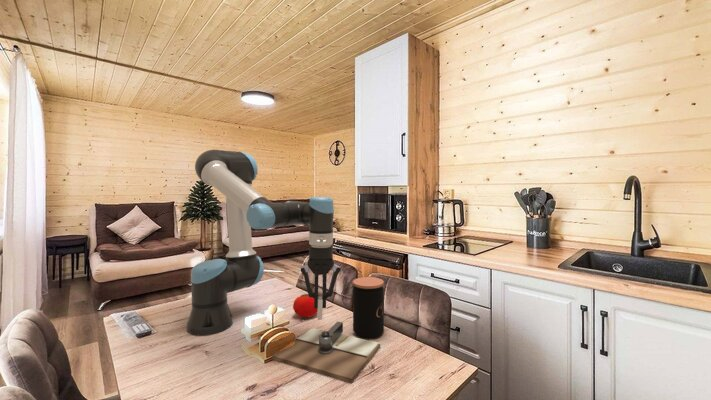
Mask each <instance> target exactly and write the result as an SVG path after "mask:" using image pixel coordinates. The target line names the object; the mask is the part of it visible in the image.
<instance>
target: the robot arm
mask: <svg viewBox="0 0 711 400" xmlns="http://www.w3.org/2000/svg"><path fill="white" fill-rule="evenodd" d="M258 169H259V168H258V165H257V162H256V159H255V158H254V157H253V156H252V155H251V154H250V153H248V152H242V151H235V150H233V151H232V150H221V149H209V150H206V151H203V152H202V153H201V154H200V155H198V157H197V158H196V160H195V163H194V170H195V174H196V176H197V177H198V178H199V179H200V180H201V181H202V182H203V183H204V184H205V185H207V186H211V187H212V186H213V188H215V189H216V190H217V191H218V192H219V193H221V194H222V195H223V196H224V197H225V202H226V203H225V204H226V217H227V218H226V221H227V234H228V250H229V251H228V252H227V253H226V255H225V259H224V258H223V259H222V258H215V259H207V260H204V261H201V262H199V263H197V264H196V265H194V266H193V268H192V269H191V273H190V275H191V276H190V283H191V284H190V285H191V287H190V288H191V310H190V314H189V316H188V321H187V322H186V331H187V333H188V334H190V335H194V336H209V335H214V334H218V333H220V332H223V331H225V330H227V329H229V328H231V326H233V322H234V319H233V314H232V312H231V309H230V306H229V304H228V293H232V292H236V291H239V290H242V289H245V288H246V289H247V288H251V287H252V286H255V285H257V284H258V283H259V282H260V281H261V280H262V278H263V276H264V271H265V268H264V263H263V261H262V258H261V257H260V256H259V255H257V251H255V250H254V249H253V241H252V239H253V237H252V229H254V230H268V229H273V228H279V227H286V226H287V227H288V226H296V225H302V226H303V225H304V226H309V230H308V231H309V233H308V234H309V235H308V243H309V245H310V246H309V247H308V260H307V264H305V265H302V266H300V272H301V273H302V275H303V279H304V284H305V285H306V292H307V294H308V295H309V297H312V298H314V308H315V309H318V311H317V320H319V321H320V320H321V321H322V320H323V309H326V308H327V300H328V298H331V297H332V296H333V293H334V289H335V285H336V280H337V277H338V275H339V273H340V272H341V266H340V265H337V264H335V262H334V260H333V258H334V255H333V251H334V247H333V246H332V245H333V243H334V226H333V225H334V213H335V212H334V211H335V210H334V200H333V198H331V197H330V196H329V197H328V196H312V197H310V199H309V202H306V201H305V202H304V201H298V200H288V201H286V202H272V201H271V200H269V199H267V198H266V197H265V196H264V195H262V194H261V193H260V192H258V191H257V190H256V189H254V188H253V187H252V186H253V181H254V180H255V179H256V178H257V175H258V171H259V170H258ZM309 270H310V271H311V273H313V274H314V284H313V285H314V288H313V289H314V292H313V289H312V286H311V281H310V276H309V273H308V272H309ZM331 270H332V271H333V272H332V275H331V280H330V284H329V287H328V291H327V282H328V281H327V280H328V279H327V275H328V273H330V271H331ZM320 275H321V276H322V290H321V291H322V293H321V294H322V295H321V296H319V276H320Z"/></svg>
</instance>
